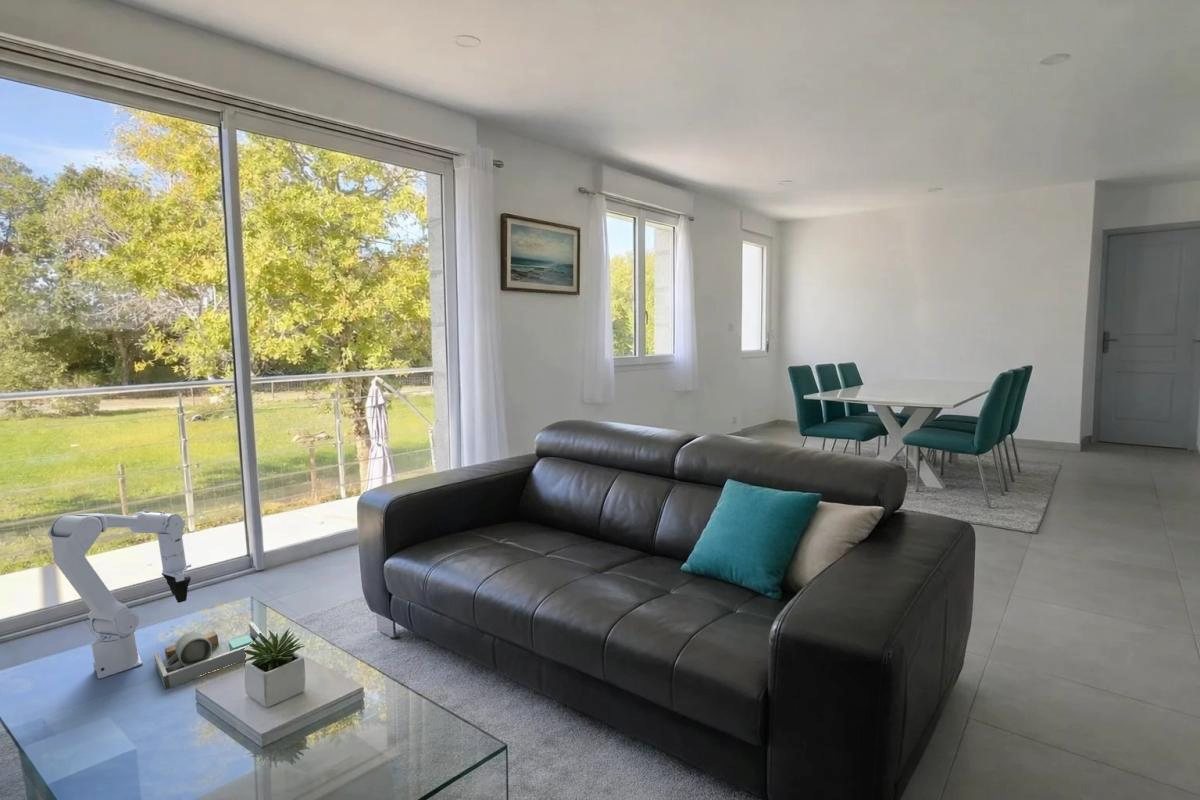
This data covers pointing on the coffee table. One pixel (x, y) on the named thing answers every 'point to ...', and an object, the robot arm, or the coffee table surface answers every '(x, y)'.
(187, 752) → the coffee table surface
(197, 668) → the frame
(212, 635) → the brown wooden block
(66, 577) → the robot arm
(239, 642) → the turquoise cube box
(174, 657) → the ceramic mug
